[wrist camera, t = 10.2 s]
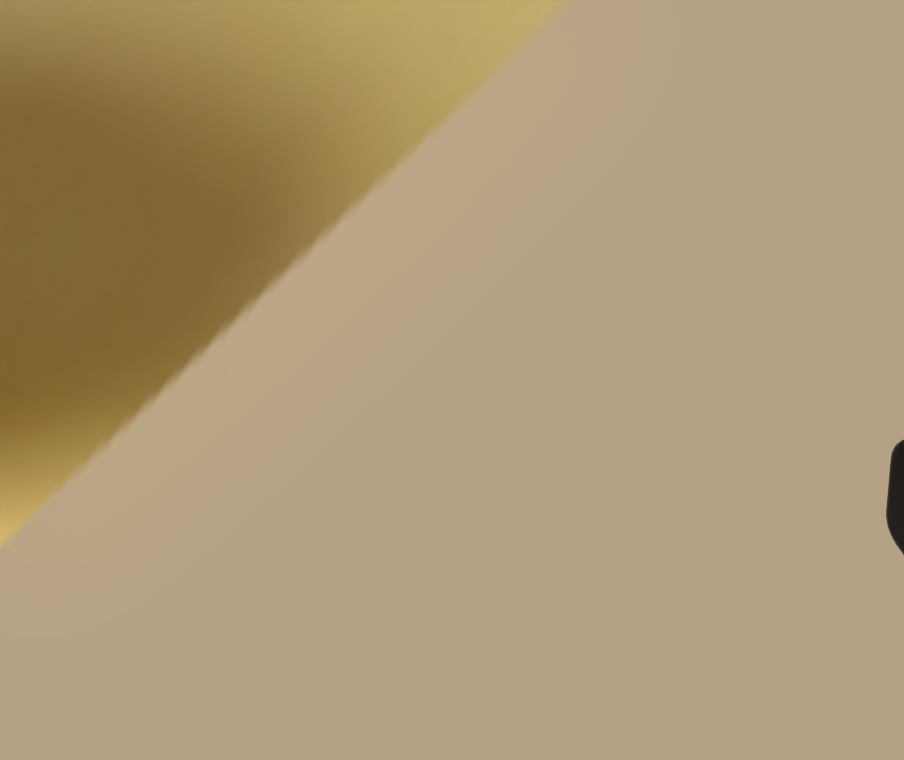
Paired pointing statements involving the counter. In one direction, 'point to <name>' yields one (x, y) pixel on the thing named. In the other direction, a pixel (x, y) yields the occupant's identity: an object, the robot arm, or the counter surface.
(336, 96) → the counter surface
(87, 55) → the counter surface
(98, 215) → the counter surface
